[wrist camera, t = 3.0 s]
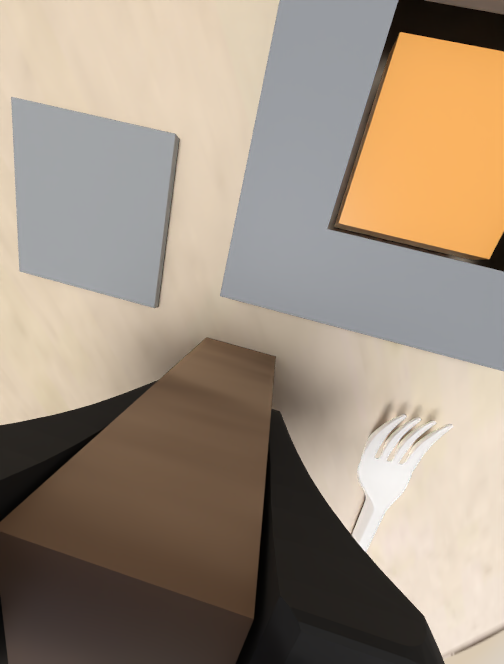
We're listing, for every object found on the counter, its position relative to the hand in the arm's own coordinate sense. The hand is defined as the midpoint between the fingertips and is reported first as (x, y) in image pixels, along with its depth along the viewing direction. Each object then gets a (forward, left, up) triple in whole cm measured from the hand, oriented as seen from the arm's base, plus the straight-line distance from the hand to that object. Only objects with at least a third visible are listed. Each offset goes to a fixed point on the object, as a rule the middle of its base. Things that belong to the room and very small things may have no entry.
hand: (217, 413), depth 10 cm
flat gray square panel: (+7, +9, -3) cm, 12 cm away
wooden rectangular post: (0, 0, -3) cm, 3 cm away
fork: (-8, -10, -4) cm, 14 cm away
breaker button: (+12, -5, -2) cm, 13 cm away
